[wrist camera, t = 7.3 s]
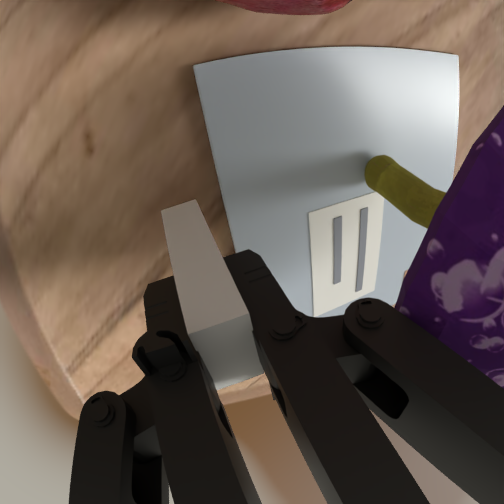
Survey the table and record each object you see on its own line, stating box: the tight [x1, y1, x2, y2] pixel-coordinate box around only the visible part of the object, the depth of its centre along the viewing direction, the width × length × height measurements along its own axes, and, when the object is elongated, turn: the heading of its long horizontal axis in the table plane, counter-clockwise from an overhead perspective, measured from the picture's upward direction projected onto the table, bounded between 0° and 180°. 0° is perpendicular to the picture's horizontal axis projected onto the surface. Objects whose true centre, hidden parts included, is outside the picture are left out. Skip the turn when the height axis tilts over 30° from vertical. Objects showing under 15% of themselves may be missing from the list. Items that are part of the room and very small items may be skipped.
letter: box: [193, 47, 459, 317], centre depth 17 cm, size 19×16×1 cm
